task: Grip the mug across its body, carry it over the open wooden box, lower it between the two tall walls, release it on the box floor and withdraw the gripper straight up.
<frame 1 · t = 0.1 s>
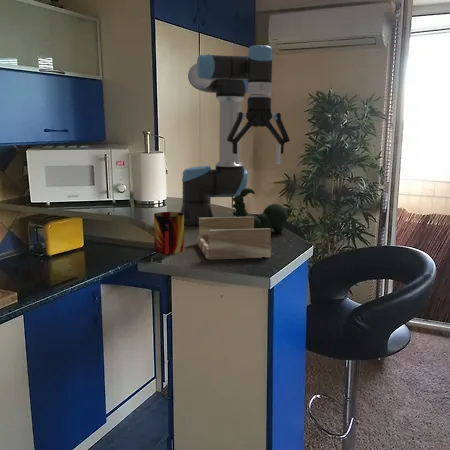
hand: (257, 164, 171), 28 cm above the counter, fingers open, 13 cm apart
mug: (171, 252, 170), on the counter
toy figurine: (263, 234, 200), on the counter
open wooden box: (232, 249, 173), on the counter
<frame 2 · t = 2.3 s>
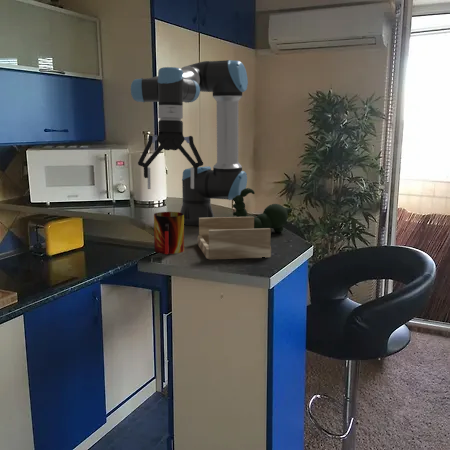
hand: (170, 188, 166), 20 cm above the counter, fingers open, 13 cm apart
nothing on the counter moved.
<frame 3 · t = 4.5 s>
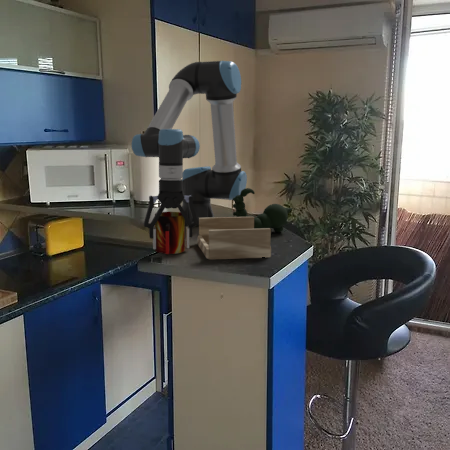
hand: (171, 247, 170), 1 cm above the counter, fingers open, 10 cm apart
mug: (172, 252, 170), on the counter, touching gripper
everything else where it was.
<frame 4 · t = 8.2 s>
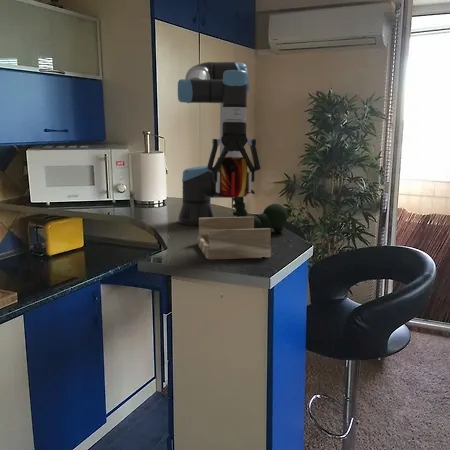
hand: (233, 192, 170), 19 cm above the counter, fingers closed on mug, 10 cm apart
mug: (235, 196, 170), point 18 cm above the counter, touching gripper
everything else where it was.
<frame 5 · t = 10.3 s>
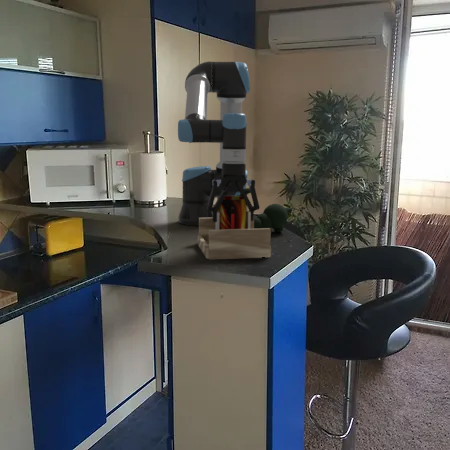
hand: (232, 231, 172), 6 cm above the counter, fingers closed on mug, 10 cm apart
mug: (234, 235, 172), point 5 cm above the counter, touching gripper
everything else where it was.
when the fingers open (4 cm above the counter, at t = 11.8 s): mug drops 2 cm, resting on open wooden box.
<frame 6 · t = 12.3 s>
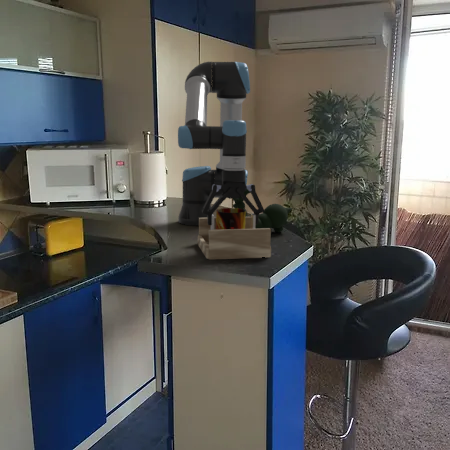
hand: (232, 234, 172), 5 cm above the counter, fingers open, 13 cm apart
mug: (233, 247, 173), point 1 cm above the counter, touching open wooden box
everything else where it was.
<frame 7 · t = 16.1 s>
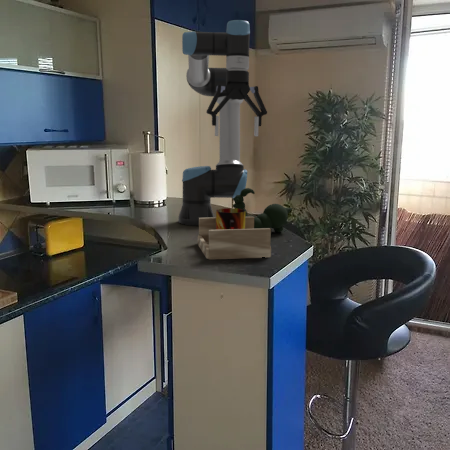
hand: (236, 136, 177), 37 cm above the counter, fingers open, 13 cm apart
nothing on the counter moved.
at the end: mug inside the target area on the open wooden box (0.4 cm from its centre), point 0.6 cm above the open wooden box's base; mug tilted 0°; the gripper is holding nothing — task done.
